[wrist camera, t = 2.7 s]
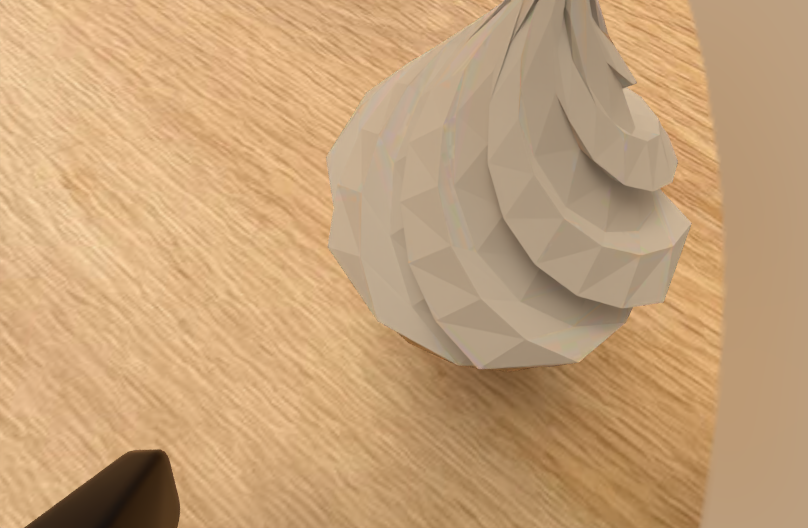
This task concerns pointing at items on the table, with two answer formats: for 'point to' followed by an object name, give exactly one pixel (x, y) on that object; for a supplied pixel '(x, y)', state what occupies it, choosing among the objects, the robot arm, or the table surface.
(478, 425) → the table surface
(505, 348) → the ice cream cone
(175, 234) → the table surface
